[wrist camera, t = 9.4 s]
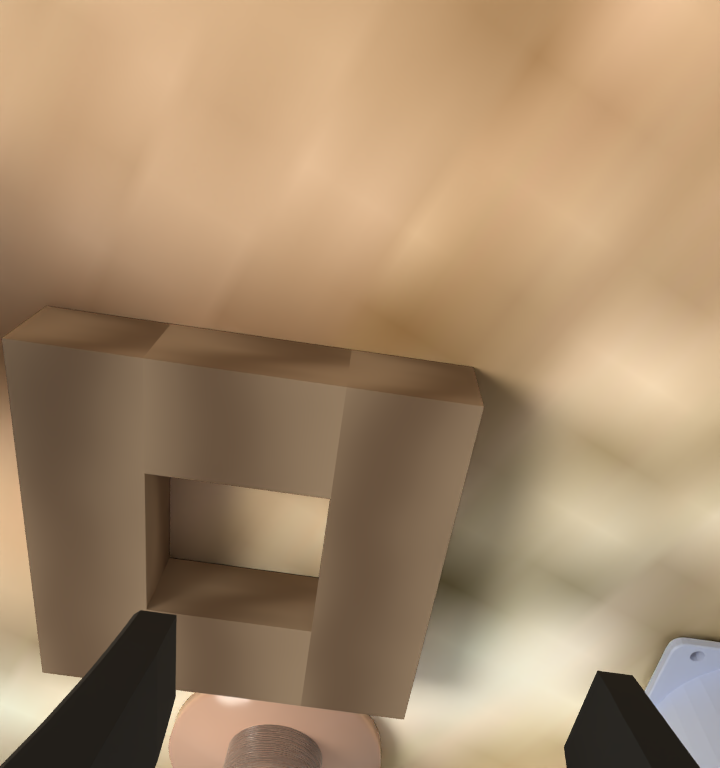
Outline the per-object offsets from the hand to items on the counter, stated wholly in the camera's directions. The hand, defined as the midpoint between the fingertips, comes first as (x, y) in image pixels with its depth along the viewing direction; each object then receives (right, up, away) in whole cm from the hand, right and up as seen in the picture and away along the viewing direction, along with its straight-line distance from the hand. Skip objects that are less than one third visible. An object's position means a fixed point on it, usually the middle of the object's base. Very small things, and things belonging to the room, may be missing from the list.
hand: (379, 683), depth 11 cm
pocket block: (-4, +1, +11) cm, 12 cm away
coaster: (-4, -11, +17) cm, 20 cm away
